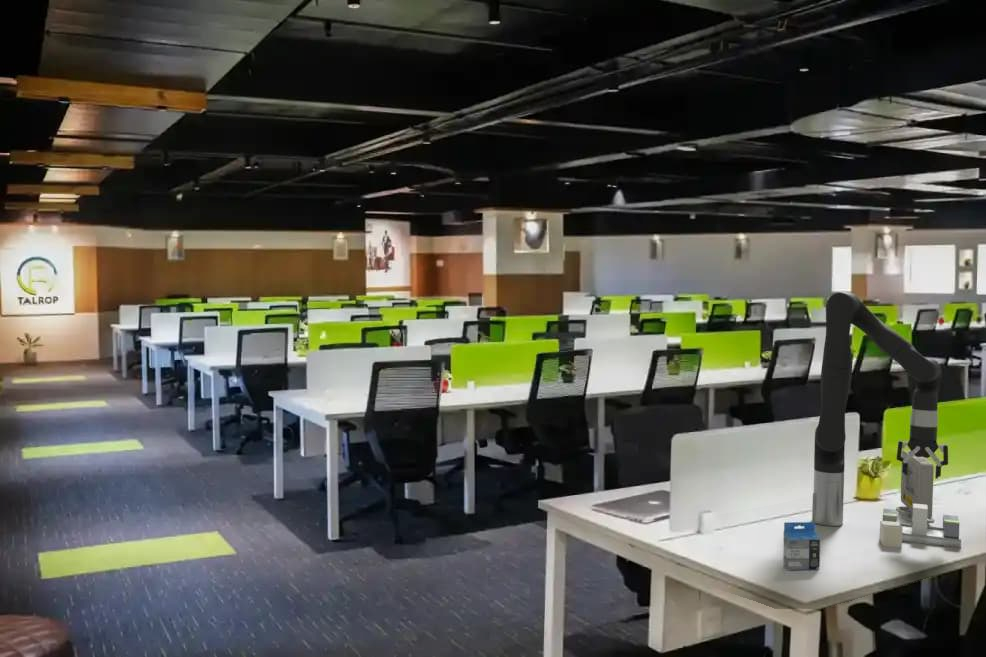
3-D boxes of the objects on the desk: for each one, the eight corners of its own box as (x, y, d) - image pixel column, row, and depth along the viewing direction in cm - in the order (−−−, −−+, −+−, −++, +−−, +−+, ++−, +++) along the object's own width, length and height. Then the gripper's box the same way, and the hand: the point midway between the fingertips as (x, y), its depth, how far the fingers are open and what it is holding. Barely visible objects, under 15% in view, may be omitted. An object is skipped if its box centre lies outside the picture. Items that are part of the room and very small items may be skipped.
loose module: (912, 533, 275) (912, 507, 275) (911, 528, 280) (912, 503, 280) (926, 535, 273) (927, 509, 273) (926, 530, 279) (927, 504, 278)
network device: (939, 525, 291) (941, 464, 290) (910, 524, 293) (912, 463, 292) (918, 506, 316) (920, 450, 315) (892, 505, 318) (893, 449, 317)
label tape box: (788, 570, 243) (789, 525, 243) (782, 566, 247) (783, 521, 247) (819, 570, 244) (821, 525, 243) (813, 565, 248) (815, 521, 247)
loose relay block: (883, 546, 267) (884, 525, 267) (879, 540, 274) (880, 520, 274) (901, 547, 266) (902, 527, 266) (897, 541, 273) (898, 521, 273)
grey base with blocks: (880, 538, 275) (880, 515, 275) (881, 528, 287) (881, 506, 287) (960, 547, 266) (961, 524, 266) (958, 536, 278) (959, 514, 278)
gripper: (898, 423, 275) (895, 476, 275) (950, 427, 269) (947, 481, 269) (898, 420, 281) (895, 471, 282) (949, 424, 275) (946, 476, 276)
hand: (921, 476), depth 276 cm, fingers open, 8 cm apart
